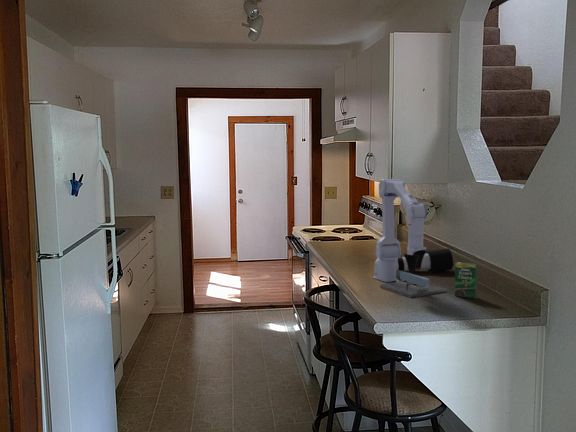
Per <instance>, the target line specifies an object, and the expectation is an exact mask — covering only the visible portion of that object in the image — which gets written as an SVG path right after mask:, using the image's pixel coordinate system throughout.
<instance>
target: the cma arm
mask: <svg viewBox="0 0 576 432" xmlns="http://www.w3.org/2000/svg"><path fill="white" fill-rule="evenodd" d="M396 278H397V279H402V281H408V282H412V283H415V284H418V285H421V286H425V287H426V286H429V283H430V278H428V277H424V276H420V275H418V274H413V273H412V272H407V271H401V270H397V271H396Z"/></svg>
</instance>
